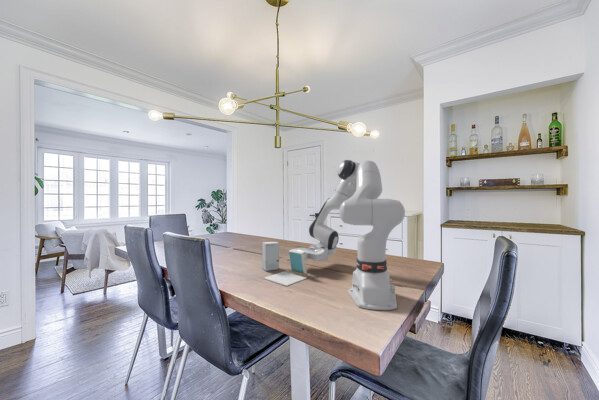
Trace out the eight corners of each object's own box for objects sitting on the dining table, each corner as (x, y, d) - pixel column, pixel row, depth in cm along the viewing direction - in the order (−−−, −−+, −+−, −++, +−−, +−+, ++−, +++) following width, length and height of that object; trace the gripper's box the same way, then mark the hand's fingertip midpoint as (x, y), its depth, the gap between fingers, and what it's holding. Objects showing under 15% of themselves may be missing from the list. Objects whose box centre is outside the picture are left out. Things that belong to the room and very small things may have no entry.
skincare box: (265, 271, 134) (265, 243, 134) (261, 268, 140) (261, 242, 139) (279, 269, 138) (279, 242, 138) (275, 266, 143) (275, 240, 143)
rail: (287, 271, 133) (287, 268, 133) (307, 277, 124) (307, 274, 124) (285, 272, 132) (285, 269, 132) (305, 277, 123) (305, 274, 123)
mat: (284, 272, 133) (284, 271, 133) (306, 278, 122) (306, 277, 122) (263, 278, 122) (263, 277, 122) (286, 286, 112) (286, 285, 112)
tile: (294, 270, 133) (291, 249, 132) (307, 274, 127) (303, 252, 125) (291, 272, 132) (288, 251, 130) (304, 276, 126) (301, 253, 124)
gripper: (301, 244, 146) (284, 247, 136) (330, 248, 133) (313, 253, 122) (301, 254, 146) (284, 259, 136) (330, 260, 133) (313, 266, 122)
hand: (298, 256), depth 129 cm, fingers closed
